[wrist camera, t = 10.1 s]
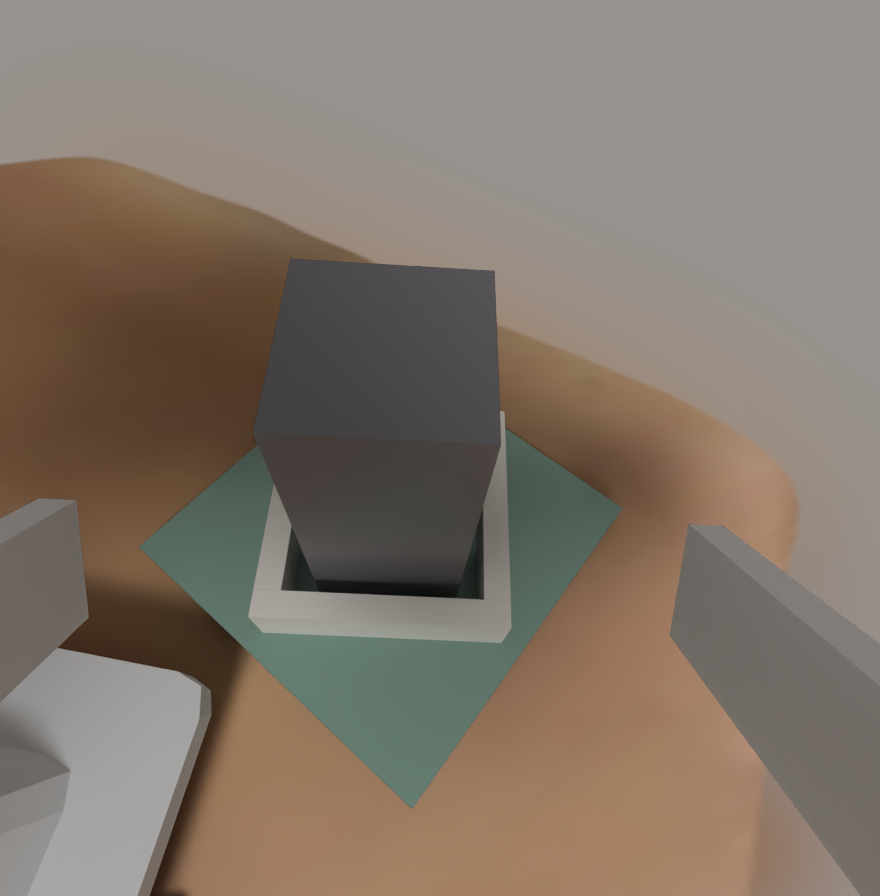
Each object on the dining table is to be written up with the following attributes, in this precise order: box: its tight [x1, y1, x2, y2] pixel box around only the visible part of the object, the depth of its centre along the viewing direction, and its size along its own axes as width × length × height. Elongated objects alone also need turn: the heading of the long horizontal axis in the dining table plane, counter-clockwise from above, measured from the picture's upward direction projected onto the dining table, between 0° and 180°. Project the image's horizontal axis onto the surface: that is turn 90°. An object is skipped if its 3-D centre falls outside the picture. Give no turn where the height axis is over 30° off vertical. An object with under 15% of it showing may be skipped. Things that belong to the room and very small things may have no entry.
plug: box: [253, 259, 501, 598], centre depth 16 cm, size 4×5×10 cm
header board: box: [139, 411, 622, 808], centre depth 20 cm, size 12×12×3 cm
